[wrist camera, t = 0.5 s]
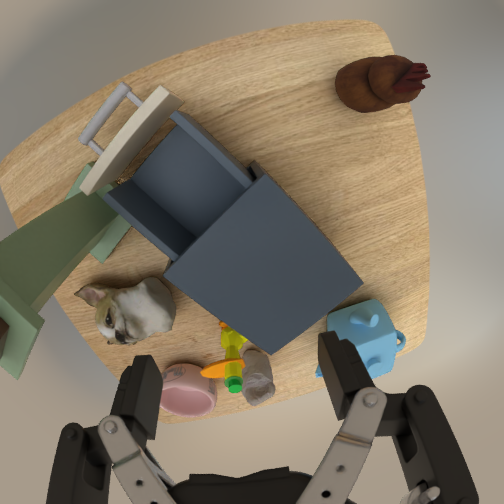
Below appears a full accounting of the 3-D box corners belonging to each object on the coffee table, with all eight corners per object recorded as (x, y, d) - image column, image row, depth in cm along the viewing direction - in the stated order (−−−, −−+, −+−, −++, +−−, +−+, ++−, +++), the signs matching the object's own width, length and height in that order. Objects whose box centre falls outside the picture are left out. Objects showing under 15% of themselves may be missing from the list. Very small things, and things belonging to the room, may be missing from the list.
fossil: (245, 368, 43) (249, 418, 34) (229, 358, 42) (231, 409, 33) (271, 349, 42) (281, 400, 33) (256, 339, 41) (263, 391, 32)
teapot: (383, 347, 45) (407, 387, 36) (310, 372, 45) (324, 418, 36) (385, 262, 37) (423, 301, 28) (293, 291, 38) (312, 341, 28)
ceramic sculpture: (190, 362, 30) (97, 374, 32) (199, 316, 38) (116, 334, 40) (143, 287, 26) (51, 314, 27) (165, 249, 33) (80, 279, 35)
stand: (59, 215, 30) (-55, 309, 10) (93, 161, 28) (-51, 225, 8) (106, 258, 33) (21, 386, 13) (145, 209, 31) (46, 332, 11)
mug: (192, 347, 41) (189, 376, 35) (228, 381, 45) (229, 409, 39) (139, 370, 42) (132, 397, 37) (176, 400, 46) (173, 425, 41)
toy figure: (209, 338, 40) (206, 404, 29) (199, 321, 38) (192, 388, 28) (252, 326, 40) (261, 392, 29) (244, 308, 38) (251, 374, 27)
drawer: (86, 150, 27) (50, 159, 19) (150, 71, 24) (126, 56, 17) (195, 248, 33) (187, 282, 26) (265, 179, 30) (277, 195, 23)
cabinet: (178, 236, 33) (162, 276, 24) (254, 159, 30) (265, 173, 21) (261, 305, 38) (271, 355, 29) (333, 244, 35) (364, 283, 26)
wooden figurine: (341, 120, 28) (420, 122, 15) (318, 76, 26) (385, 45, 13) (384, 101, 28) (472, 99, 14) (364, 59, 25) (445, 32, 12)
